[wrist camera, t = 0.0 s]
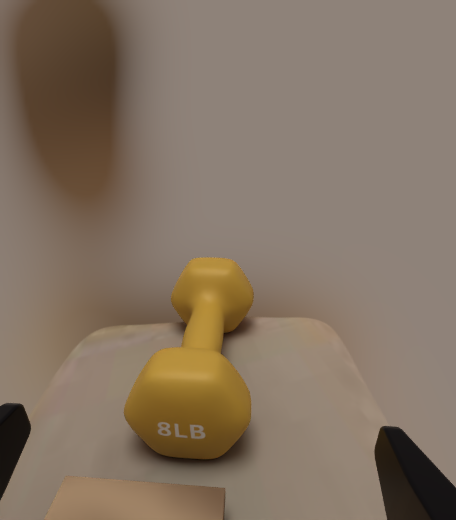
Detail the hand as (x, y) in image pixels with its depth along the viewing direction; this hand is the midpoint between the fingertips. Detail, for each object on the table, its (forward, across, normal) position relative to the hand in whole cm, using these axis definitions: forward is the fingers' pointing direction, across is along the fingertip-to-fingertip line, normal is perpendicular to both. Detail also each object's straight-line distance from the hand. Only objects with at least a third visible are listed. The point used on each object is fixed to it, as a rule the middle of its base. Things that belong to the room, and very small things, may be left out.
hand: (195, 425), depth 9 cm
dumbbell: (+19, +3, +17) cm, 25 cm away
